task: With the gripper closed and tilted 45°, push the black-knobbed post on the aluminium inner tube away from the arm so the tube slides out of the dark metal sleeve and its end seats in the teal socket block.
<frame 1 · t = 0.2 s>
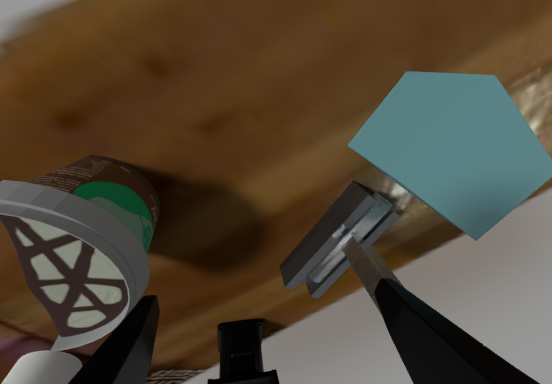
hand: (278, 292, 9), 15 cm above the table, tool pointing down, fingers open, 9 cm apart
cylindrical container: (51, 364, 31), on the table
food container: (139, 202, 22), on the table
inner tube: (371, 277, 21), point 8 cm above the table, slide at 0.0 cm
outer sleeve: (334, 229, 28), on the table
socket block: (411, 143, 24), on the table
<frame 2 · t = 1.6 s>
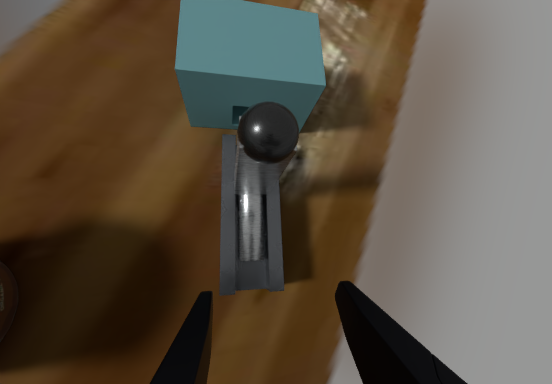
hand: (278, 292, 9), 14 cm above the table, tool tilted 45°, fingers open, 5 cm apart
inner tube: (257, 173, 17), point 8 cm above the table, slide at 0.0 cm
outer sleeve: (248, 204, 24), on the table
socket block: (246, 99, 27), on the table
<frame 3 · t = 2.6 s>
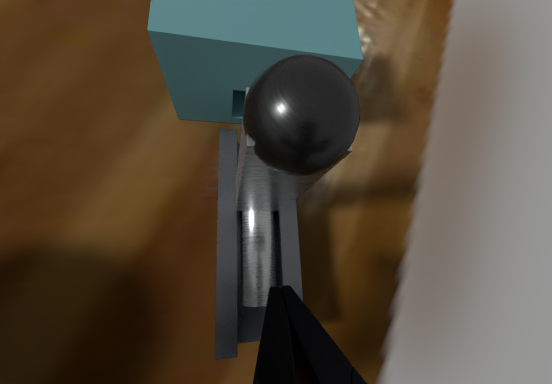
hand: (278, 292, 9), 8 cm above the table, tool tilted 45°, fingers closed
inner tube: (270, 185, 11), point 8 cm above the table, slide at 0.0 cm
outer sleeve: (253, 220, 18), on the table
socket block: (250, 85, 21), on the table
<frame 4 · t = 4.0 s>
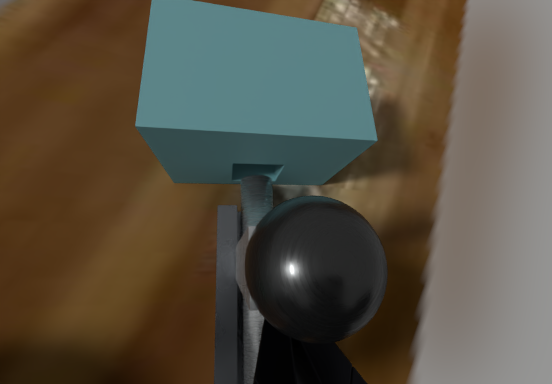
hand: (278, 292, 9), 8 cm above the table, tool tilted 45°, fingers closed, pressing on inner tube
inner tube: (274, 274, 10), point 8 cm above the table, slide at 1.5 cm, touching gripper
outer sleeve: (255, 296, 17), on the table
socket block: (251, 140, 20), on the table
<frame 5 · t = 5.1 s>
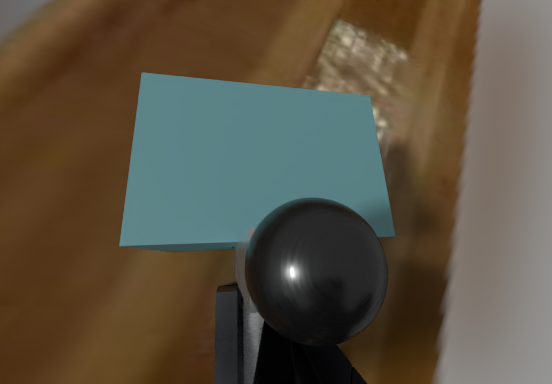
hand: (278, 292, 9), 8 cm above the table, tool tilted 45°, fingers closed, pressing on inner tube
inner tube: (274, 274, 10), point 8 cm above the table, slide at 6.6 cm, touching gripper
outer sleeve: (257, 381, 15), on the table
socket block: (253, 197, 19), on the table
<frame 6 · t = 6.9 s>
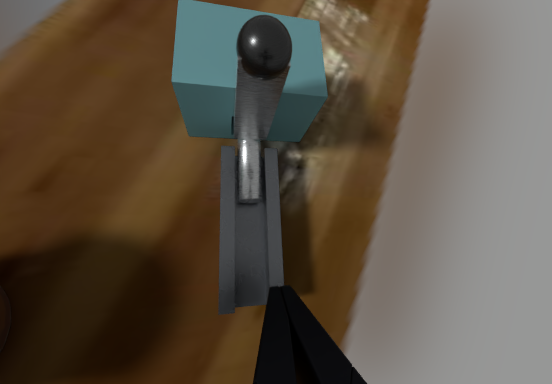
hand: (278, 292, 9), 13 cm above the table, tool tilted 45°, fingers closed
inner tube: (255, 108, 18), point 8 cm above the table, slide at 6.5 cm
outer sleeve: (247, 216, 23), on the table
socket block: (246, 107, 26), on the table
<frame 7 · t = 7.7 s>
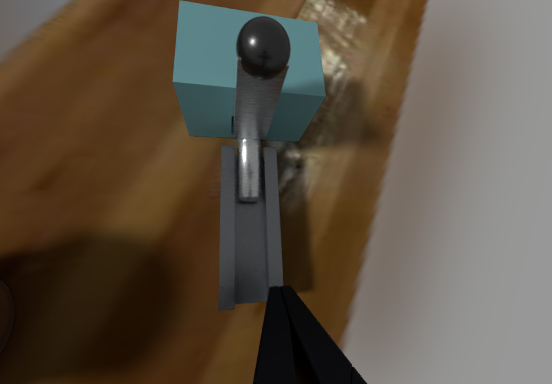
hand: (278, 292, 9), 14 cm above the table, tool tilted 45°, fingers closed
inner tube: (254, 107, 18), point 8 cm above the table, slide at 6.5 cm
outer sleeve: (247, 214, 24), on the table
socket block: (246, 107, 27), on the table
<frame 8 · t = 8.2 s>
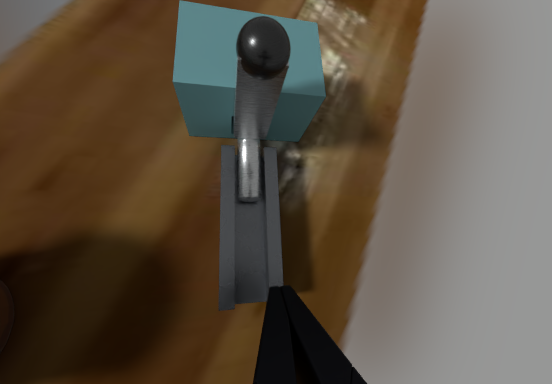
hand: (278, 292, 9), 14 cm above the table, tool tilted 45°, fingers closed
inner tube: (254, 107, 18), point 8 cm above the table, slide at 6.5 cm
outer sleeve: (247, 214, 24), on the table
socket block: (246, 107, 27), on the table
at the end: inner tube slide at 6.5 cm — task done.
